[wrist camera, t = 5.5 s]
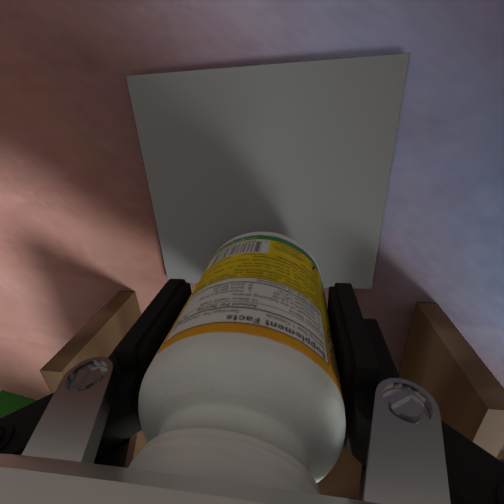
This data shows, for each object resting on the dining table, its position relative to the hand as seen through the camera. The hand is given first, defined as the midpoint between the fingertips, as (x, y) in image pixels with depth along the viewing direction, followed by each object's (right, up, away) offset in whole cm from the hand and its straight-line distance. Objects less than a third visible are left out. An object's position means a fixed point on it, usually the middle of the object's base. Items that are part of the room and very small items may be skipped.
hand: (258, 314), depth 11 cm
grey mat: (0, +5, +2) cm, 6 cm away
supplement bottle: (0, +1, +2) cm, 3 cm away
